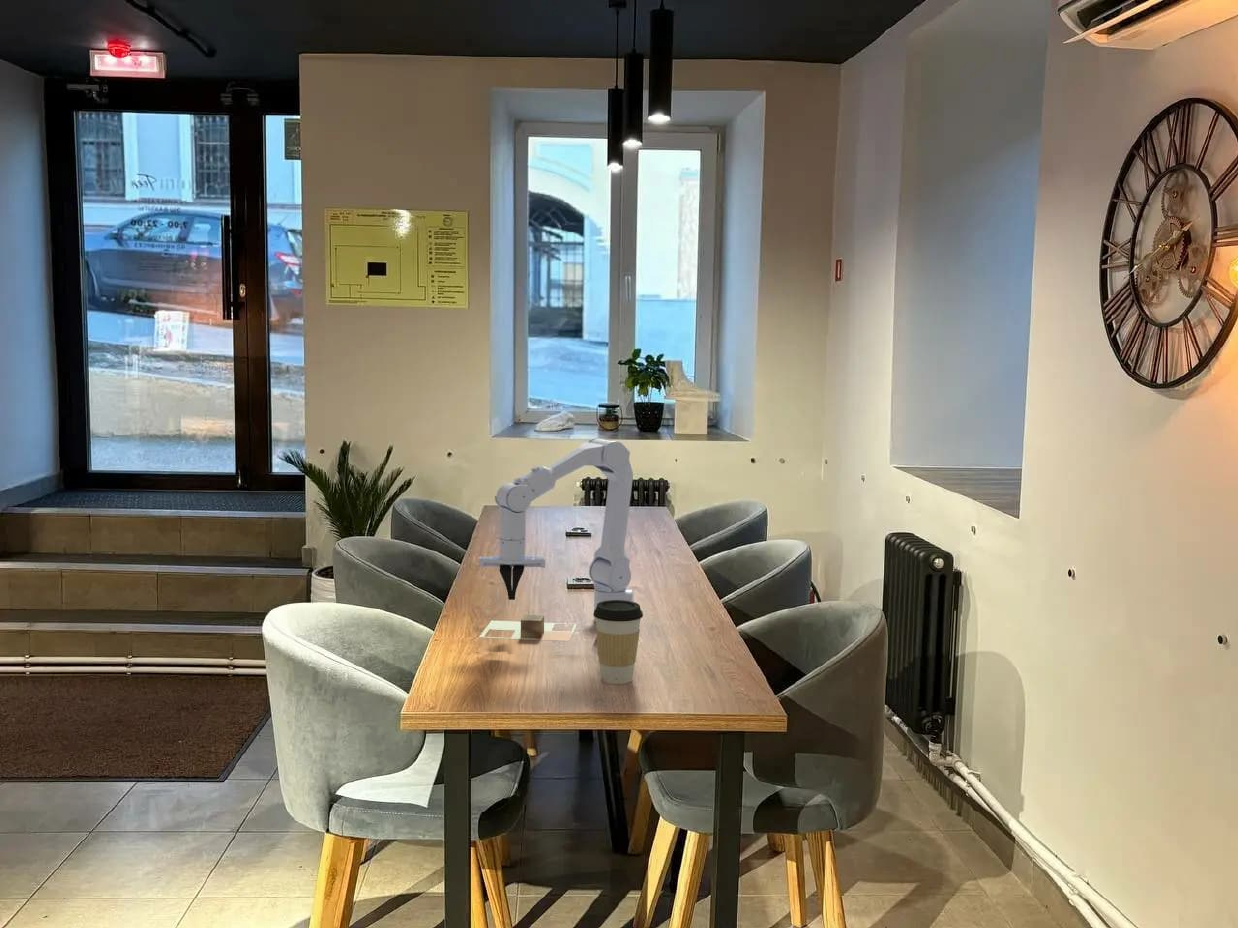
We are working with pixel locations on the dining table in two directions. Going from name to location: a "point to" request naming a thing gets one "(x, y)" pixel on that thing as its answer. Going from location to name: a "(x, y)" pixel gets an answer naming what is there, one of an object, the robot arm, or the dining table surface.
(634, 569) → the dining table surface
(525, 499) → the robot arm
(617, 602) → the coffee cup
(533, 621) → the block
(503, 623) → the board
